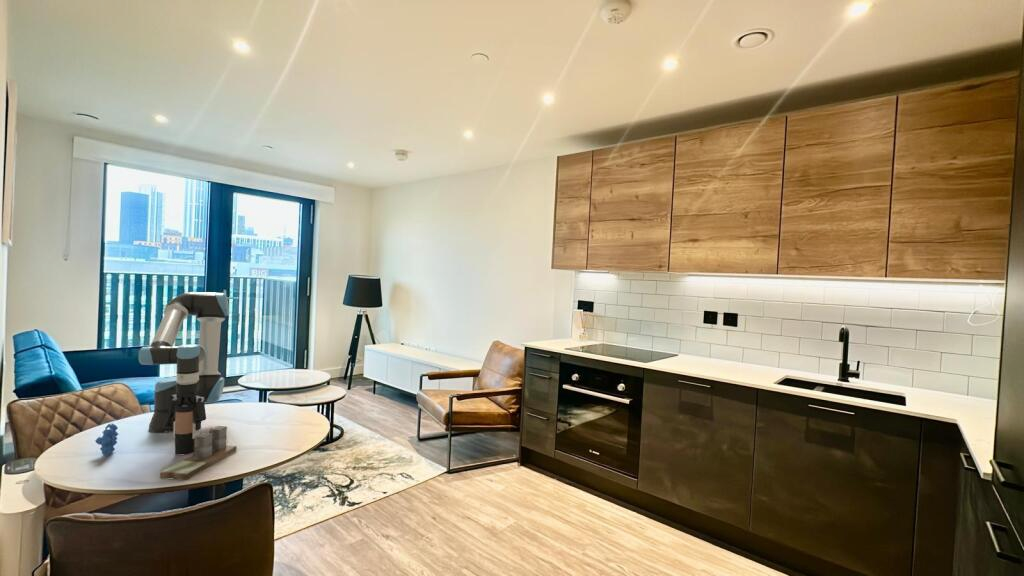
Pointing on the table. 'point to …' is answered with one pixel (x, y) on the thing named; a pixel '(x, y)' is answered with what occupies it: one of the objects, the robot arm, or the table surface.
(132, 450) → the table surface
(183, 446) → the travel mug
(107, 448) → the grapes
